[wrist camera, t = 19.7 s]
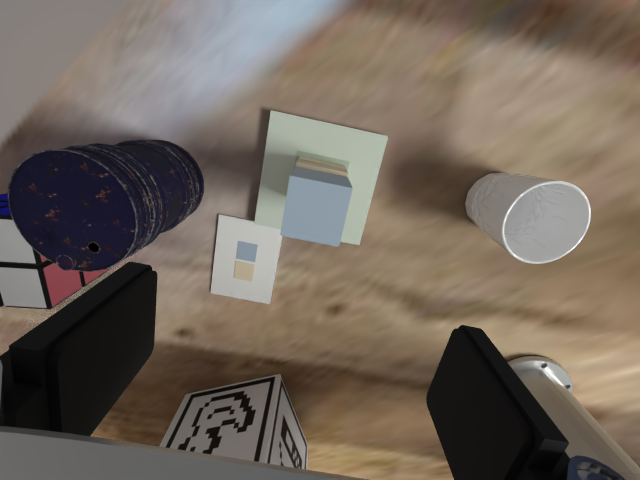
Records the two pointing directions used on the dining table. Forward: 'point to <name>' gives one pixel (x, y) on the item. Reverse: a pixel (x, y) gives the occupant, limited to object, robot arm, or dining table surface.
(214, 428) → the block
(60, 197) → the storage jar
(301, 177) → the slate block
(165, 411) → the dining table surface
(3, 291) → the puzzle cube
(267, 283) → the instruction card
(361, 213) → the board
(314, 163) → the maple block
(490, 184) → the white cup
